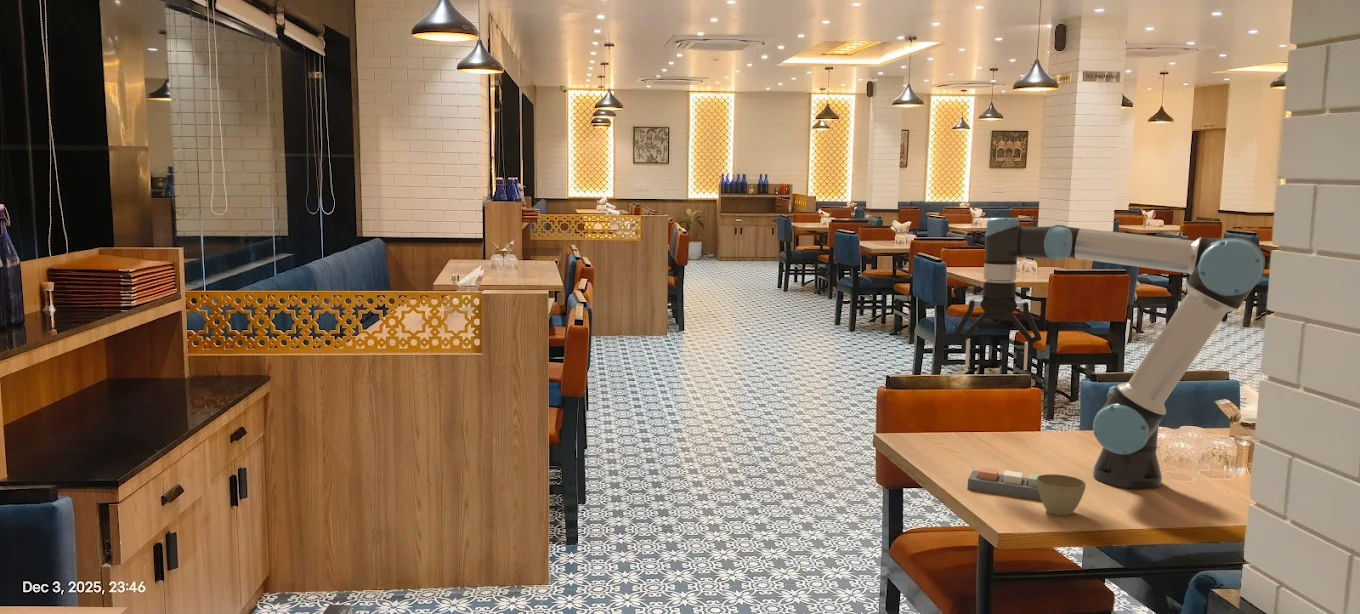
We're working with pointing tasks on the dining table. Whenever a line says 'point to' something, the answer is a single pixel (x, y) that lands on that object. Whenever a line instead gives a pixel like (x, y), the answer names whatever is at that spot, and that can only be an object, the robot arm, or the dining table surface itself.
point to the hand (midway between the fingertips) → (995, 367)
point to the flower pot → (1060, 493)
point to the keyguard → (1003, 486)
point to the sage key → (1032, 480)
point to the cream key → (1013, 477)
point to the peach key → (988, 474)
